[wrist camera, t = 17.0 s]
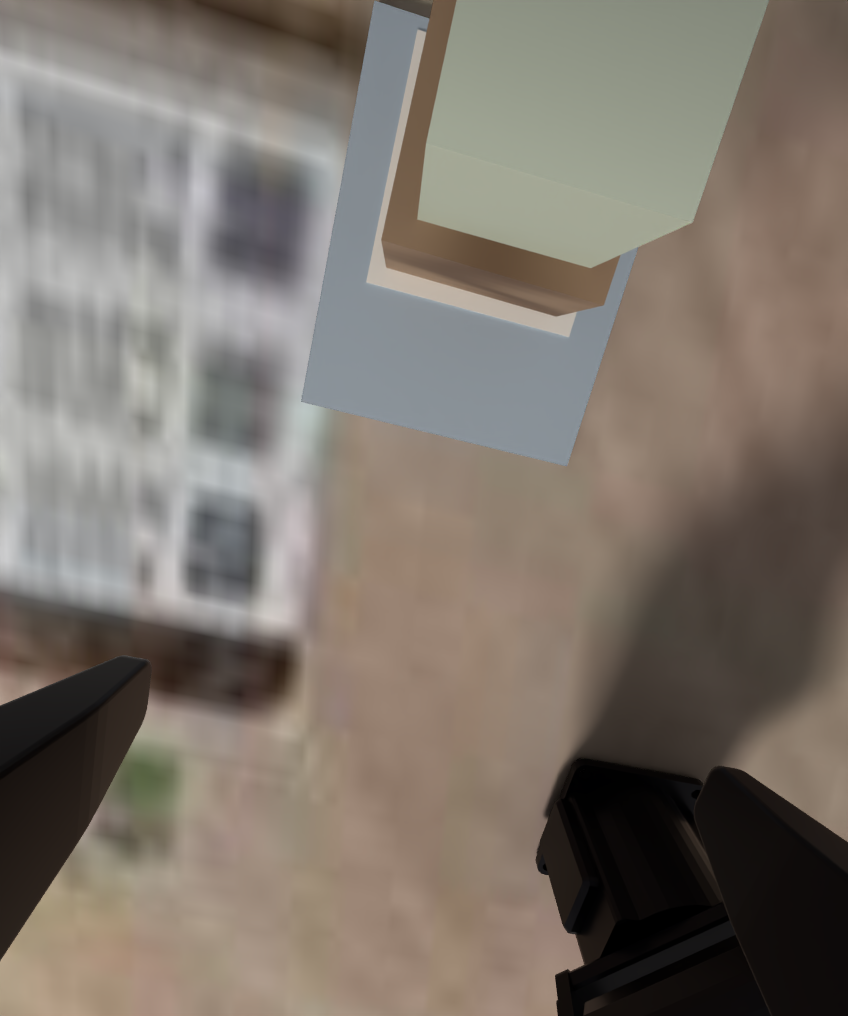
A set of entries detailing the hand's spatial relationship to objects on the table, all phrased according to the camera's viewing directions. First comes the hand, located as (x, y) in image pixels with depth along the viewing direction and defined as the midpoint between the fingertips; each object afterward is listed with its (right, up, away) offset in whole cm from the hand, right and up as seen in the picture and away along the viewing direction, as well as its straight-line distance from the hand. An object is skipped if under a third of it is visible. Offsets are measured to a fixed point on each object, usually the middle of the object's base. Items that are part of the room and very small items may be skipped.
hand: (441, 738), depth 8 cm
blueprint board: (+2, +12, +10) cm, 16 cm away
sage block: (+2, +12, +5) cm, 13 cm away
